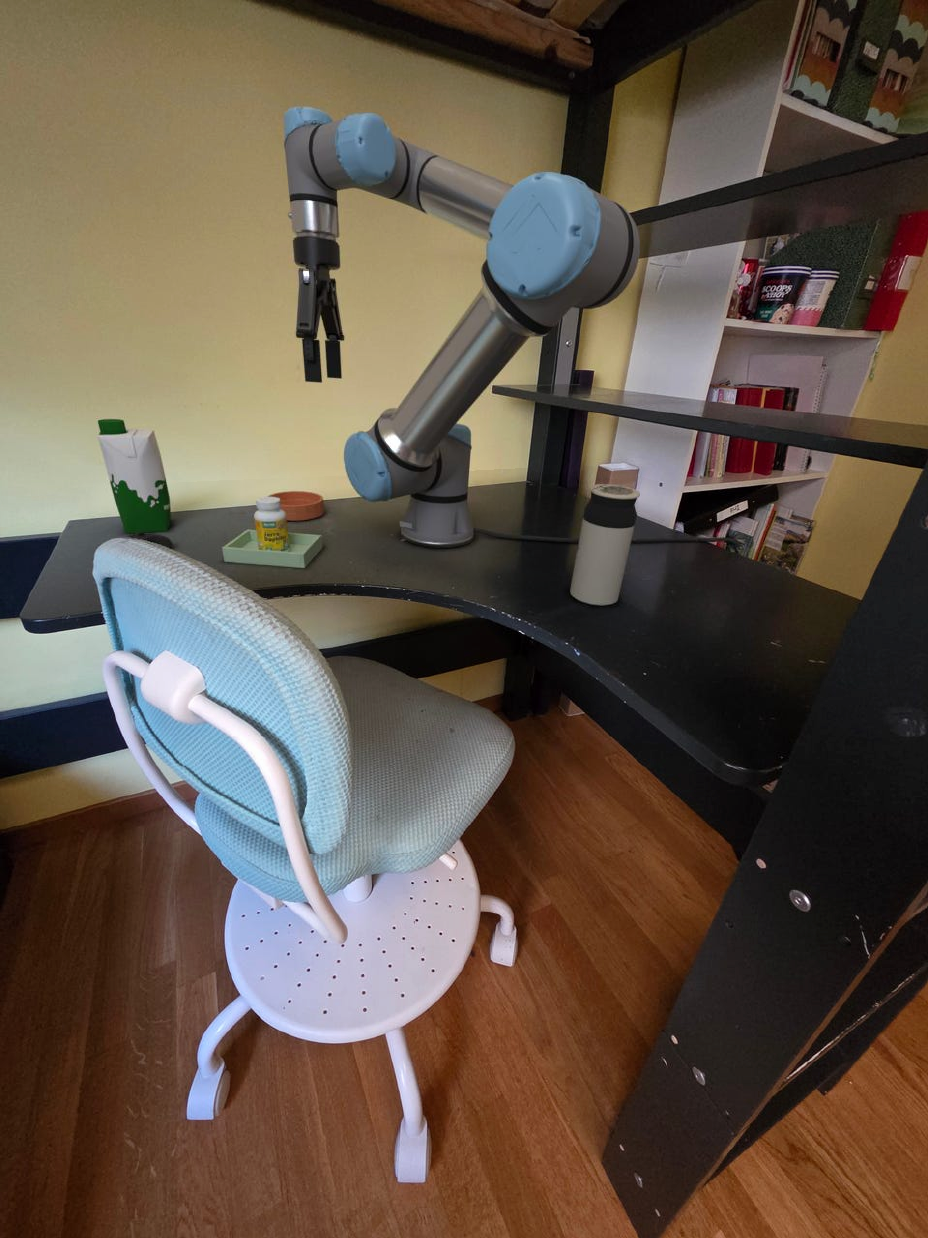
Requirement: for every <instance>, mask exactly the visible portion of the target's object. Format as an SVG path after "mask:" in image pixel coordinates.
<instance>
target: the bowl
mask: <svg viewBox="0 0 928 1238" xmlns="http://www.w3.org/2000/svg"><path fill="white" fill-rule="evenodd" d="M266 497H277V498H279V499H280V501H281V508H280V509H282V510H283V511H284V512H285V513H286V518H287V521H292V522H297V521H307V520H312V519H316V518H319V517H321V516H323V515H324V514H325V507H324V506H325V505H324V496H323V495H321V494H319V493H316V492H312V491H311V492H310V491H302V490H301V491H300V490H290V491H281V492H275V493H272V494H269V495H267V496H266Z"/></svg>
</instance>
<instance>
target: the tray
mask: <svg viewBox="0 0 928 1238" xmlns="http://www.w3.org/2000/svg"><path fill="white" fill-rule="evenodd" d="M288 536H289V544H290V550H289V552H283V551H271V550H259V547H258V540H257V533H256V529H246V530H245V531H243V532H242V533H240V534H239V535H238V536H236V537H235V538H234V539H231V541H229V542H228V543H227V544H225V545H224V546H222V548H221V549H222V555H223V560H224V561H223V562H225V563H237V564H248V565H262V566H273V567H285V568H286V567H287V568H298V569H300V568H301V569H306V568H307V566H308V565H310V563H311V562H312V560H314V558H315V557H316V556H317V555H318V554H319V552H321V550H322V549H323V538H322V535H321V534H312V533H311V534H310V533H299V532H288Z"/></svg>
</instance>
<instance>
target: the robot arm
mask: <svg viewBox="0 0 928 1238" xmlns="http://www.w3.org/2000/svg"><path fill="white" fill-rule="evenodd" d="M283 126H284V127H283V128H284V129H283V130H284V140H283V148H284V152H285V164H286V176H287V186H288V196H289V197H288V198H289V208H290V211H288V213H287V217H288V219H289V220H290V222H291V232H292V233H293V234H294V235H295V236H296V237H294V238H293V239H292V249H293V261H294V264H295V265H296V266H297V267H299V268H298V271H297V273H298V296H297V312H296V325H295V326H296V328H295V330H296V331H295V338H297V339H301V342H302V359H303V369H304V382H305V383H318V384H319V383H323V375H322V362H321V361H322V359H321V345H320V344H321V342H320V339H318V333H319V327H320V321H321V322H322V326H323V330H324V333H325V337H326V339H324V349H325V363H326V365H325V366H326V378H327V379H338V380H339V379H340V380H341V379H342V378H343V377H342V375H343V374H342V357H341V355H342V354H341V341H342V342H344V341H345V334H344V332H343V326H342V320H341V313H340V307H339V306H340V305H339V300H338V294H337V281H336V278H334V277H333V278H332V277H331V274H330V272H331V271H337V270H339V269H340V268H341V249H340V248H341V247H340V246H341V245H340V244H339V242H337V240H339V238H340V223H339V203H338V191H343V190H349V189H358V190H361V191H364V192H368V193H371V194H373V195H376V196H380V197H382V198H386V199H388V200H392V201H395V202H398V203H401V204H403V205H406V206H409V207H411V208H413V209H415V210H417V211H419V212H422V213H424V214H425V215H429V216H431V217H433V218H436V219H437V220H439V221H442V222H443V223H446V224H448V225H450V226H452V227H453V228H456V229H457V230H460V231H462V232H465V233H467V234H468V235H471V236H473V237H475V238H476V239H479V240H481V241H483V242H485V243H486V245H485V247H486V248H485V252H486V256H485V257H486V259H485V260H484V262H483V263H482V265H481V267H480V277H481V285H482V286H481V289H480V290H479V291H478V293H477V294H476V295H475V297H474V299H472V301H471V303H470V304H469V305H468V307H467V308H466V309H465V311H464V312H463V314H462V316H461V317H460V318H459V320H458V321H457V323H455V326H454V327H453V328H452V330H451V331H450V333H449V334H448V335H447V337H446V338H445V340H444V341H443V342H442V344H441V345H440V347H439V348H438V349H437V351H436V352H435V354H434V355H433V357H432V358H431V359H430V361H429V362H428V364H427V365H426V367H425V368H424V369H423V371H422V372H421V374H420V375H419V377H418V378H417V380H415V382H414V383H413V384H412V387H410V390H408V392H407V394H406V395H405V397H404V398H403V399H402V401H401V402H400V404H398V407H390V408H387V409H385V410H384V411H382V412H381V414H380V415H379V416H378V418H377V419H376V421H375V422H374V424H373V425H372V427H371V428H370V429H369V430H367V431H364V430H359V431H357V432H354V433H352V434H350V436H349V437H348V438H347V439H346V441H345V444H344V449H343V463H344V469H345V472H346V475H347V478H348V480H349V482H350V485H351V486H352V488H353V490H354V491H355V492H356V493H357V494H358V495H359V496H360V498H362V499H364V500H366V501H368V502H372V503H376V502H377V503H378V502H388V501H389V500H394V499H398V498H401V497H406V496H409V502H408V505H407V508H406V511H405V513H404V516H403V519H402V520H399V527H401V528H400V536H401V538H402V539H403V540H404V541H405V542H408V543H409V544H412V545H415V546H419V547H423V548H428V549H429V548H431V549H455V548H460V547H464V546H466V545H469V544H471V543H472V542H473V540H474V535H475V534H479V535H484V536H489V537H493V538H498V539H504V540H505V539H506V540H520V541H538V542H553V543H571V544H572V543H573V544H578V543H579V538H575V537H573V538H572V537H556V536H555V537H554V536H540V535H522V534H507V533H506V534H505V533H499V532H494V531H489V530H485V529H481V528H476V527H474V524H473V520H472V516H471V513H470V512H471V511H470V508H469V504H468V494H469V482H470V481H469V480H470V467H471V465H470V464H471V451H472V449H473V446H472V432H471V429H470V427H469V426H467V425H465V424H463V423H458V422H459V421H460V420H461V419H462V418H463V416H464V415H465V414H466V413H467V412H468V411H469V409H470V408H471V407H472V406H473V405H474V403H475V402H476V401H477V400H478V399H479V398H480V396H482V394H483V393H484V392H485V390H486V389H487V388H488V387H489V386H490V384H491V383H493V381H494V380H495V378H497V376H498V375H499V374H500V373H501V372H502V371H503V370H504V368H505V367H506V365H508V364H509V362H510V361H511V360H512V359H513V358H514V356H515V355H517V353H518V352H519V351H520V350H521V348H522V347H523V346H524V345H525V343H526V342H527V341H528V340H529V339H530V338H531V337H533V338H537V337H538V338H539V337H541V338H542V337H547V335H549V334H550V333H551V331H552V330H553V329H554V328H555V327H556V326H557V325H558V324H559V323H560V321H561V320H562V319H563V318H564V317H565V315H566V314H567V313H568V312H569V311H570V310H571V309H572V308H575V309H581V310H593V309H597V308H601V307H604V306H606V305H608V304H610V303H611V302H613V301H614V300H616V299H617V298H618V297H619V296H620V295H621V294H623V292H624V291H625V290H626V288H628V286H629V284H630V283H631V281H632V279H633V278H634V276H635V273H636V271H637V268H638V263H639V261H640V254H641V237H640V233H639V228H638V227H637V224H636V222H635V220H634V218H633V217H632V215H631V214H630V212H628V210H627V209H626V208H625V207H624V206H622V205H621V204H619V203H618V202H616V201H614V200H611V199H610V198H608V197H606V196H605V195H603V194H601V193H600V192H597V191H596V190H595V189H592V188H591V187H589V186H588V185H587V184H586V182H584V181H582V180H581V179H579V178H577V177H574V176H571V175H567V174H561V173H559V172H555V171H542V172H536V173H533V174H531V175H529V176H526V177H524V178H522V179H520V181H518V182H517V183H516V184H515V185H513V184H510V183H509V182H506V181H504V180H502V179H498V178H496V177H494V176H491V175H489V174H486V173H483V172H481V171H479V170H476V169H473V168H472V167H468V166H467V165H464V164H462V163H459V162H456V161H453V160H451V159H449V158H447V157H443V156H441V155H439V154H437V153H435V152H432V151H429V150H428V149H424V148H422V147H420V146H417V145H415V144H413V143H410V142H408V141H406V140H403V139H401V138H400V137H398V136H395V135H393V133H392V130H391V129H390V128H389V126H388V125H387V123H386V122H385V120H384V119H383V118H382V116H380V115H378V114H376V113H374V112H363V113H361V112H355V113H353V114H352V113H351V114H349V115H348V116H345V117H343V118H339V119H337V120H334V121H333V118H332V117H331V116H330V115H329V114H328V113H327V112H325V111H324V110H321V109H318V108H315V107H311V106H304V105H303V106H300V107H299V106H292V107H290V108H289V109H287V110H286V112H285V113H284V116H283ZM692 537H693V538H696V539H699V540H702V541H705V542H704V543H720V542H723V543H724V542H726V543H731V544H733V546H735V547H736V548H741V547H742V546H741V544H740V542H738V541H737V540H735V539H734V538H732V537H726V536H725V537H701V536H700V537H698V536H692ZM691 540H693V541H691ZM671 542H672V543H673V542H675V543H677V542H682V543H683V542H696V541H695V540H694V539H691V538H690V540H688V538H687V539H684V538H680V539H636V540H631V544H635V543H636V544H637V543H639V544H640V543H671ZM699 542H701V541H699Z"/></svg>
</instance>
